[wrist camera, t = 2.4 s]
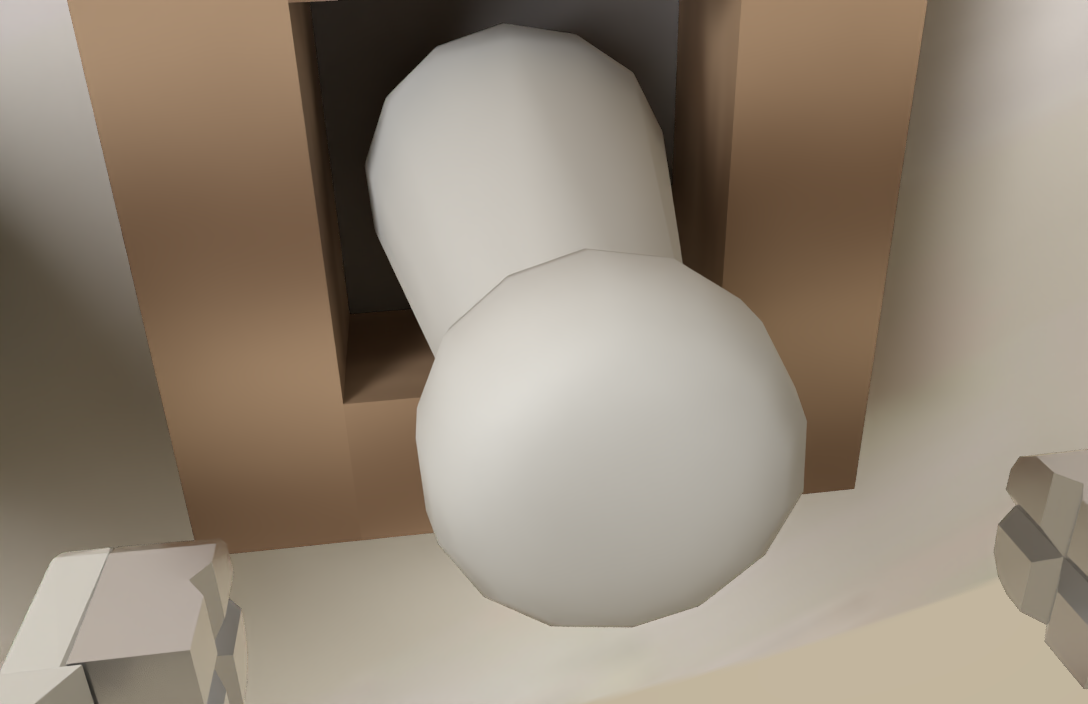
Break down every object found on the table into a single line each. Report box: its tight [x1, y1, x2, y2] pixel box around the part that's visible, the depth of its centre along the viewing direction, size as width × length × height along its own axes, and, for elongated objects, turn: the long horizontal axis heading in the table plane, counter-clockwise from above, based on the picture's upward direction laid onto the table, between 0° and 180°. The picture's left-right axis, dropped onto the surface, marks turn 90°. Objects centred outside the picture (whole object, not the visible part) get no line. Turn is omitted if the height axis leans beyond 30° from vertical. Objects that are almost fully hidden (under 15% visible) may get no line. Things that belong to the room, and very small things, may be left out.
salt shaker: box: [365, 23, 807, 627], centre depth 16 cm, size 6×6×13 cm
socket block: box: [67, 0, 928, 554], centre depth 20 cm, size 14×14×4 cm
